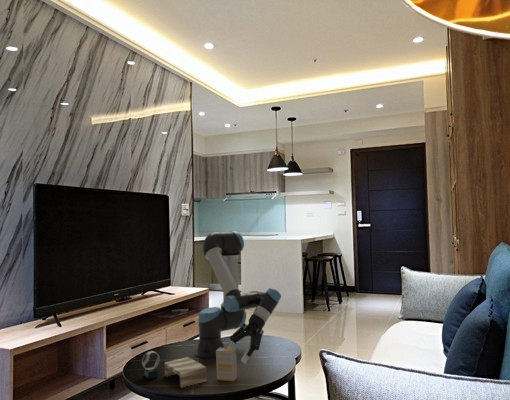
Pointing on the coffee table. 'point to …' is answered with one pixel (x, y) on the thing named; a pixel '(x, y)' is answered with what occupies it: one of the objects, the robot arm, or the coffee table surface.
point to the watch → (150, 371)
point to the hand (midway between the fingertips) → (234, 358)
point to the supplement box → (226, 364)
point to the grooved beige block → (186, 371)
